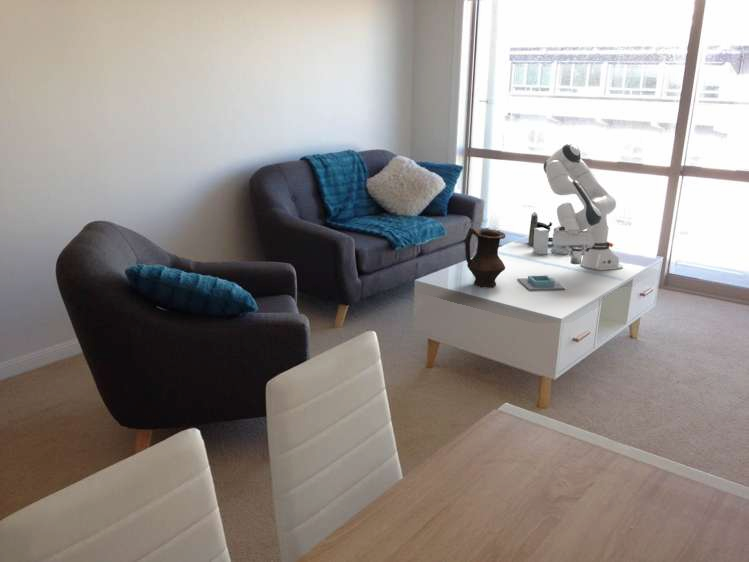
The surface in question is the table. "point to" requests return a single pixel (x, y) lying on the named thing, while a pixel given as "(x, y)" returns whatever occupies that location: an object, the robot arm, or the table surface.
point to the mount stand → (540, 283)
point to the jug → (485, 256)
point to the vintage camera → (537, 225)
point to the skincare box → (541, 241)
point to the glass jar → (576, 255)
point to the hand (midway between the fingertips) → (576, 254)
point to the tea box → (559, 249)
